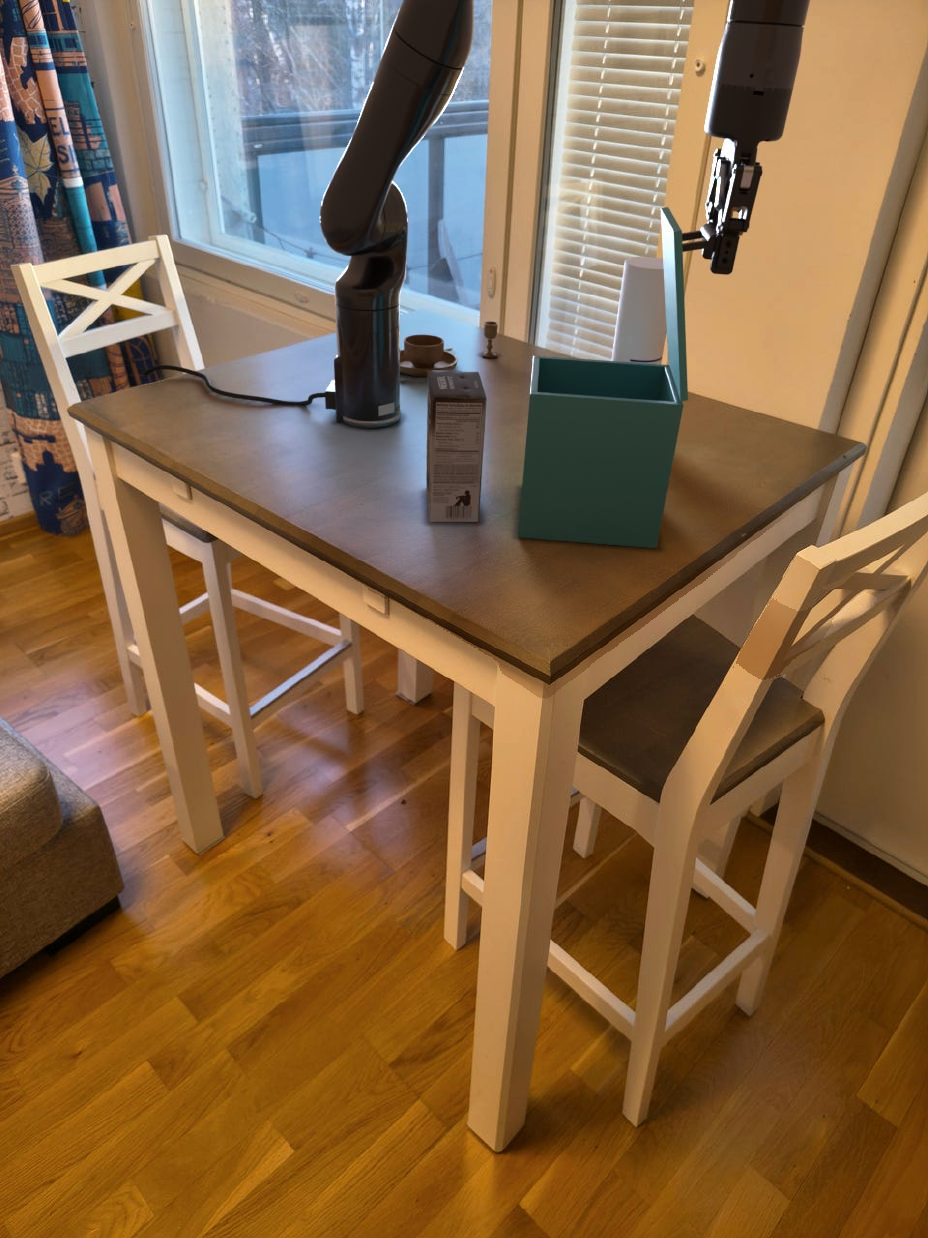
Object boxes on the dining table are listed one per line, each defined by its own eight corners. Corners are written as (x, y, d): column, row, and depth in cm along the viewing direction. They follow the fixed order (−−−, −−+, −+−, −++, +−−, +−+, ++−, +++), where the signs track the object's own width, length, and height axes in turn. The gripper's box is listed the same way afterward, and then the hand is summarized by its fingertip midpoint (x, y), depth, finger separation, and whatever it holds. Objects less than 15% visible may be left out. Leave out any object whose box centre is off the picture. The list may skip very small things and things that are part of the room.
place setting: (387, 351, 163) (387, 318, 160) (495, 352, 165) (497, 320, 162) (391, 384, 149) (391, 348, 145) (509, 384, 151) (511, 349, 148)
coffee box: (424, 490, 116) (426, 368, 107) (473, 490, 117) (479, 369, 108) (428, 523, 108) (430, 395, 99) (480, 523, 109) (487, 396, 100)
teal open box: (517, 537, 106) (530, 393, 96) (521, 488, 118) (533, 355, 108) (656, 548, 106) (683, 404, 96) (647, 498, 117) (670, 364, 107)
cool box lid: (673, 231, 86) (730, 222, 85) (660, 207, 97) (711, 199, 97) (680, 401, 95) (732, 394, 95) (668, 361, 107) (714, 355, 106)
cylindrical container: (647, 448, 131) (678, 270, 117) (599, 442, 132) (623, 265, 118) (649, 430, 136) (678, 259, 122) (602, 425, 137) (626, 254, 123)
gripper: (703, 74, 91) (673, 249, 100) (724, 82, 79) (687, 279, 88) (778, 79, 90) (740, 254, 100) (810, 88, 78) (764, 285, 88)
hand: (715, 265), depth 94 cm, fingers closed on cool box lid, 6 cm apart
